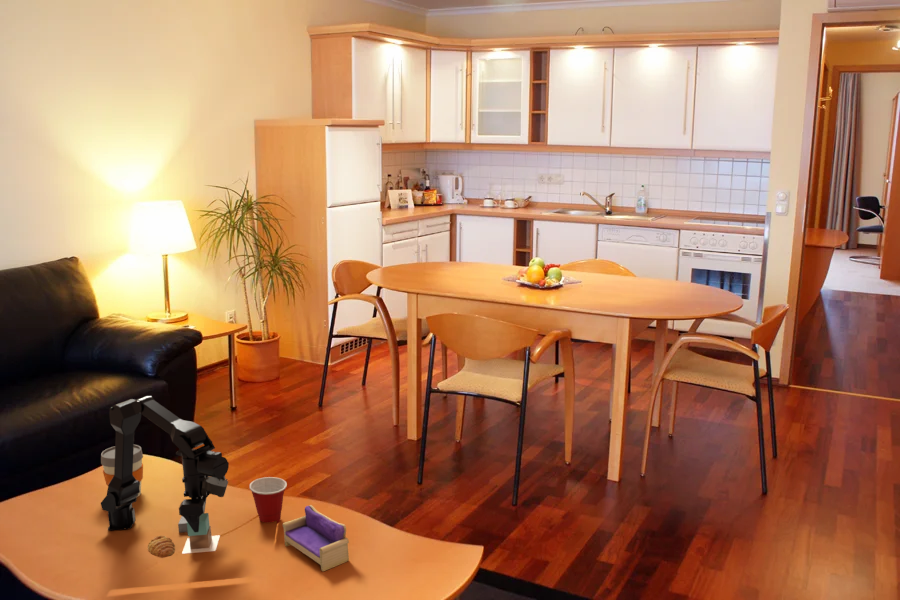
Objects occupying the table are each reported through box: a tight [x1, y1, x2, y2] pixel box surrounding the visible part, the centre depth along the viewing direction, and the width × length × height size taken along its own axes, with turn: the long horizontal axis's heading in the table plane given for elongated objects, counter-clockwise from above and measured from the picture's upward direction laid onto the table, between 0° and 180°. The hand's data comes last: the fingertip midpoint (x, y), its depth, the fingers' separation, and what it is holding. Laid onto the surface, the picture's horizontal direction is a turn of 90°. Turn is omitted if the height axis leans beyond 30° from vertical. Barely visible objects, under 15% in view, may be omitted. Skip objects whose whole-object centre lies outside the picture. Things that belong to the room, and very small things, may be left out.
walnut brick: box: [188, 525, 213, 549], centre depth 231 cm, size 5×5×4 cm
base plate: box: [181, 534, 221, 555], centre depth 232 cm, size 9×9×1 cm
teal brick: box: [187, 512, 211, 537], centre depth 230 cm, size 5×5×4 cm
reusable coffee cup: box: [100, 444, 144, 498], centre depth 267 cm, size 13×13×15 cm
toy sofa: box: [282, 504, 350, 572], centre depth 226 cm, size 21×9×10 cm, turn 40°
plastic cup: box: [249, 476, 288, 524], centre depth 246 cm, size 11×11×12 cm
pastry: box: [147, 535, 176, 558], centre depth 229 cm, size 9×7×4 cm
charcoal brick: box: [177, 516, 188, 533], centre depth 242 cm, size 5×5×4 cm
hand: (199, 524), depth 231 cm, fingers open, 9 cm apart
